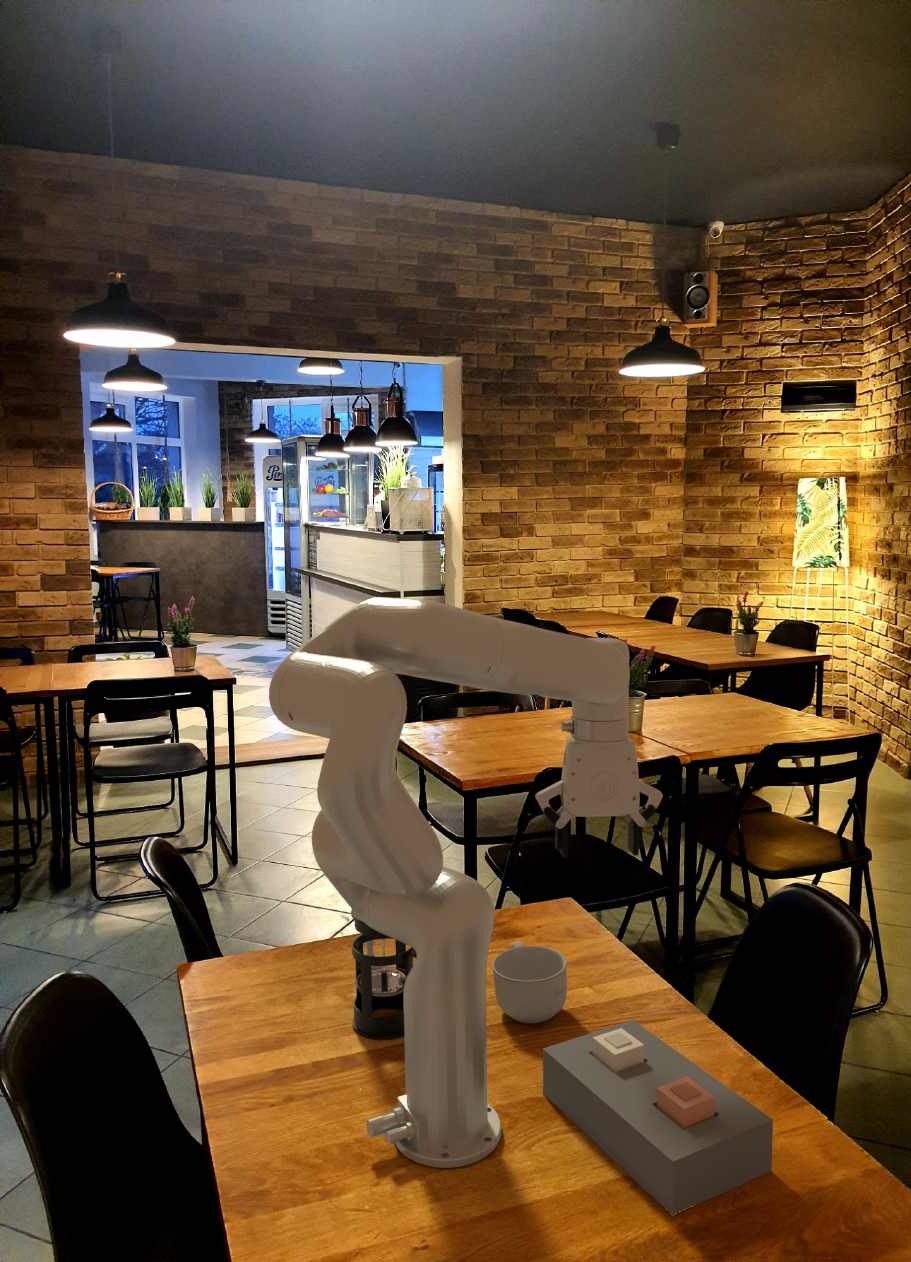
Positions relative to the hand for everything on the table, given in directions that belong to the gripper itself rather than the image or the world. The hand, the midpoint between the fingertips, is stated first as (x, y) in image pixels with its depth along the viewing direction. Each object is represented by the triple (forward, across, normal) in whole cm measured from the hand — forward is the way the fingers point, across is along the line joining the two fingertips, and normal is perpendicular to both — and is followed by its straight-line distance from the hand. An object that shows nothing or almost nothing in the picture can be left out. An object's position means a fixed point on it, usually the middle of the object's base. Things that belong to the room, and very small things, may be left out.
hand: (598, 853), depth 128 cm
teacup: (+26, -8, +8) cm, 29 cm away
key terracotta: (+21, +4, -27) cm, 34 cm away
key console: (+26, +2, -21) cm, 34 cm away
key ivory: (+21, -1, -16) cm, 26 cm away
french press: (+26, -29, +6) cm, 40 cm away
